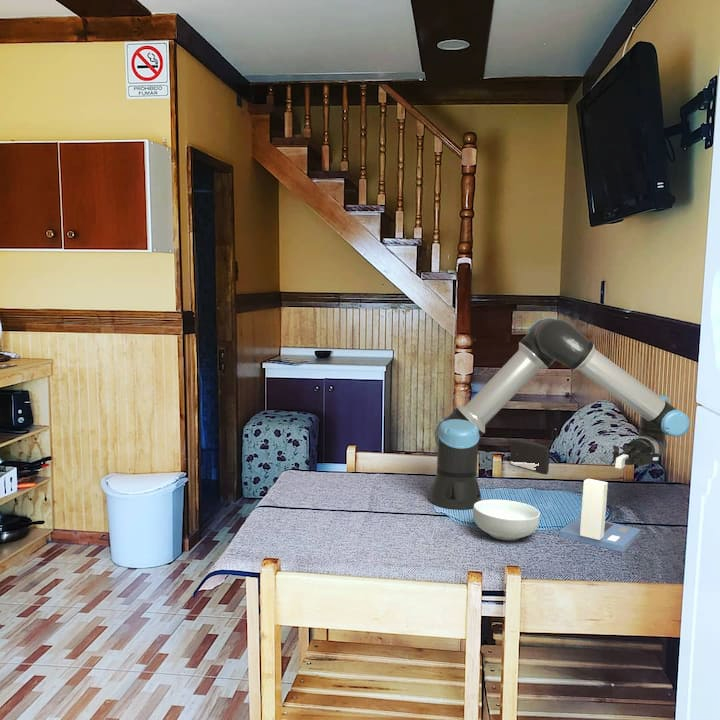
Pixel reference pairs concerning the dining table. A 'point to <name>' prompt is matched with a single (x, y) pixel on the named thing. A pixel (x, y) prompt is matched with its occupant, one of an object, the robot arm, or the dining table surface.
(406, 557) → the dining table surface
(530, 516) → the cereal bowl
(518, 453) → the leaning round-cornered charcoal block
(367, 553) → the dining table surface
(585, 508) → the white upright block
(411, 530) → the dining table surface
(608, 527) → the switch board
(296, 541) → the dining table surface
